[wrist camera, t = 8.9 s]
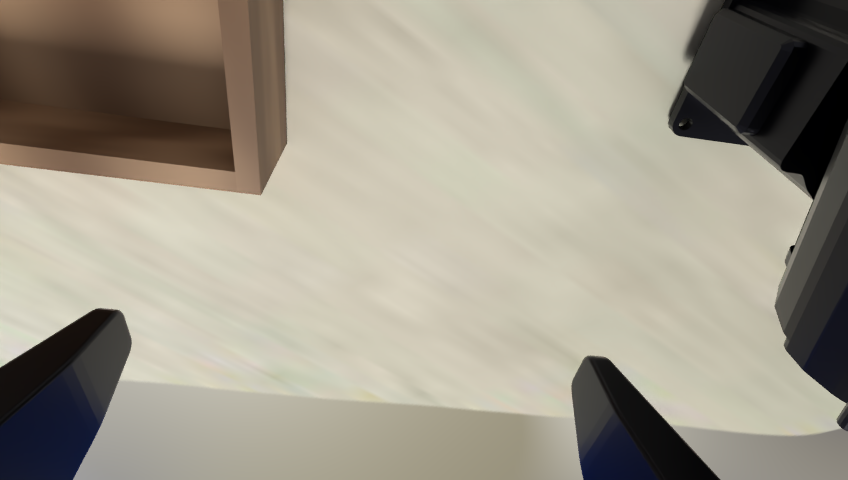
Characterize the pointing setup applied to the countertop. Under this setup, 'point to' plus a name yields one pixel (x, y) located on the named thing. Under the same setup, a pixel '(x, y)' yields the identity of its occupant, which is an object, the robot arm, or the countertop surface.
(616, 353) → the countertop surface
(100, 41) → the compartment tray
